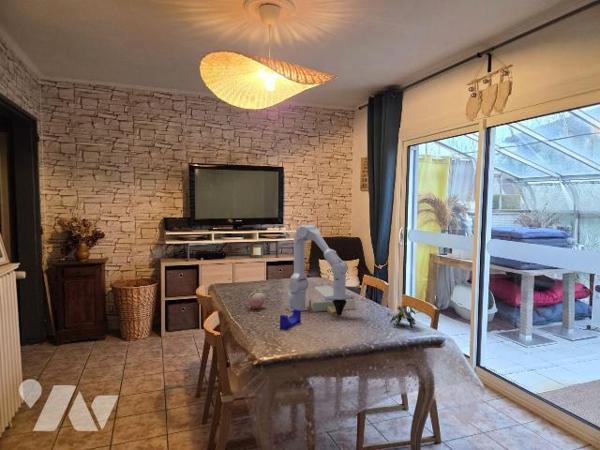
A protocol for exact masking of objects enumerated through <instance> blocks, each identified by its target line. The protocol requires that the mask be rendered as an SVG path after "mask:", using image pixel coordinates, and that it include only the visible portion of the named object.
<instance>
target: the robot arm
mask: <svg viewBox="0 0 600 450" xmlns="http://www.w3.org/2000/svg"><path fill="white" fill-rule="evenodd" d="M308 240H309V241H313V242H314V243H315V244H316V245H317V247H318V248H320V250H321V251H322V252H323V257H324V259H325V260H326V262H327V263H328V264H329V266H330V267H331V270H330V271H331V272H332V274H333V289H334V293H333V296H327V297H325V296H324V302H328V301H333V303H334V305H335V308H336V312H337V315H338V317H341V316H342V314H343V311H344V310H343V308H344V306H345V304H346V301H345V300H350V299H352V300H354V299H355V295H354V294H346V290H347V289H346V282H347V281H346V277H347V276H346V275H347V274H346V273H347V272H348V270H349V266H348V264H347V262H345V261H343V260H342V259H341V258H340V257H339V255H338V253H337V251H336V250H334V249H332V248H330V247H329V246H328V244H327V243H326V241H325V240H324V237H323V236H322V235H321V233H320V230H319V229H318V228H317V226H316V225H315V224H309V225H303V224H302V225H299V226H298V227H297V228H296V233H295V235H294V237H293V274H292V275H291V276H290V281H289V283H288V289H289V291H290V292H287V294H286V308H285V309H287V310H288V311H290V312H293V310H295V309H297V310H301V312H303V311H304V312H305V311H309V308H308V307H307V306H306V305H307V304H306V297H307V296H306V295H307V293H306V292H307V289H308V288H309V280H308V276H307V274H306V273H305V256H306V255H305V252H306V251H305V246H306V245H305V243H307V242H308Z"/></svg>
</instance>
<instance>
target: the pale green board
mask: <svg viewBox="0 0 600 450" xmlns="http://www.w3.org/2000/svg"><path fill="white" fill-rule="evenodd" d="M345 301H346V304H345V306H344V308H343V311H347V310H355V309H356V299H355V298H354V300H352V299H350V300H345ZM308 313H310V314H311V313H312V300H311V299H309V300H308Z"/></svg>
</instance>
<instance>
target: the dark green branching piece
mask: <svg viewBox="0 0 600 450" xmlns="http://www.w3.org/2000/svg"><path fill="white" fill-rule="evenodd" d="M396 307H397V310H398V311H399V312H398V313H397V314H396V315H393V316H392V315H391V313H390V312H387V315H386V316H387V317H388V318H389V316H390V317H391V320H390V321H389V324H391V323H392V322H394V323H395V324H394V326H393V328H396V326H397V325H399V324H400V323H401V321H402V319H405V320H406V321H407V322H408V323H409V326H410V328H414V326H415V325H416V324H417V323H416V319H415V318H414V317H413V316H412V313H413V314H414V315H416V311H415V310H414V309H413V308H412V307H409V310H410V312H409V311H407V309H405V307H403V306H401V305H398V306H396Z"/></svg>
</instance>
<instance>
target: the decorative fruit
mask: <svg viewBox="0 0 600 450" xmlns="http://www.w3.org/2000/svg"><path fill="white" fill-rule="evenodd" d="M255 290H256V291H253V292H251V293H250V294H249V295H248V296H247V297H248V298H247V302H248V304H249V305H250V307H251V308H254V309H255V310H257V309H260V308H261V307H262V306H263V305H264V304H265V302H266V299H267V297H266V295H265V292H264V291H262V290H258V289H255Z"/></svg>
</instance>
